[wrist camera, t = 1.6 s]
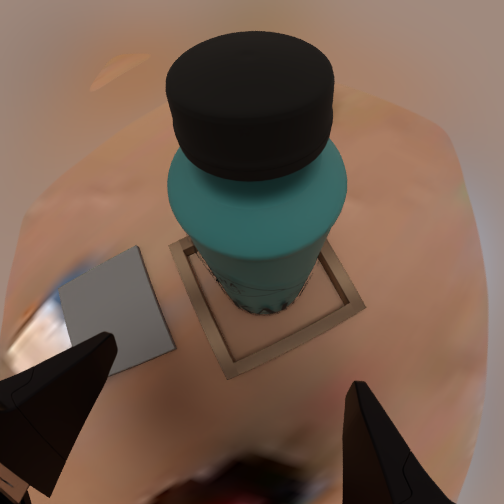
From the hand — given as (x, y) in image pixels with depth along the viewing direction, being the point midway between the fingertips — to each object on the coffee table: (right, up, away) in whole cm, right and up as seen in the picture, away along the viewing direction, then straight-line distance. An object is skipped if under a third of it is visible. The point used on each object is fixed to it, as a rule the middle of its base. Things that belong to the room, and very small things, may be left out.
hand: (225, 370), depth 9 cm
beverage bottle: (+2, +2, +15) cm, 15 cm away
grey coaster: (-12, -2, +14) cm, 19 cm away
